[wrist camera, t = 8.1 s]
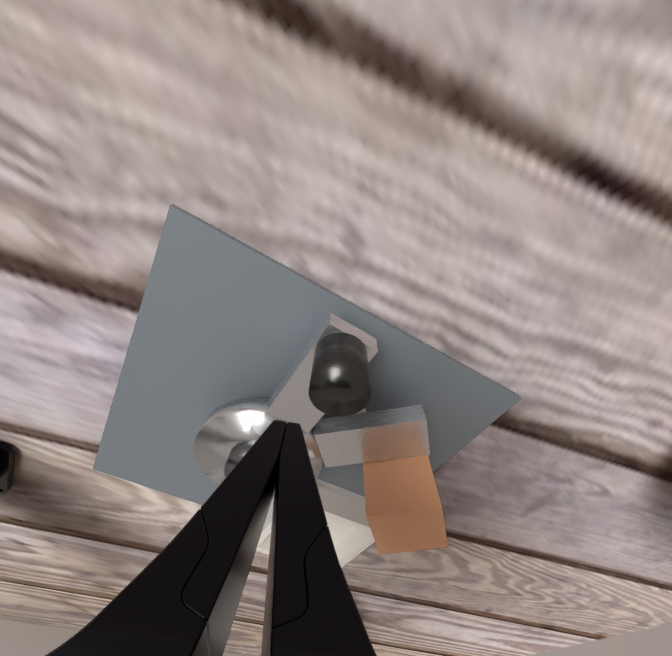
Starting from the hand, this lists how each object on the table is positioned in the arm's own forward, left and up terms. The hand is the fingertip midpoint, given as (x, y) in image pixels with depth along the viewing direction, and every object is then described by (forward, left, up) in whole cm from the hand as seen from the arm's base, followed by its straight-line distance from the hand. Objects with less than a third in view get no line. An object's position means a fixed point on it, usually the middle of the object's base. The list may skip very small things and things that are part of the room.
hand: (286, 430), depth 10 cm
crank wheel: (-6, -2, -7) cm, 9 cm away
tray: (-17, -10, -9) cm, 21 cm away
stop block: (-6, -10, -9) cm, 15 cm away
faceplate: (-10, -3, -9) cm, 14 cm away
